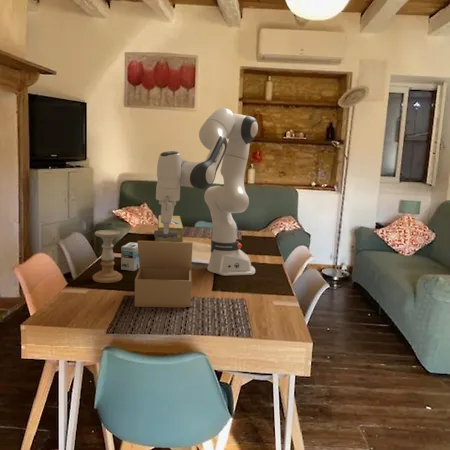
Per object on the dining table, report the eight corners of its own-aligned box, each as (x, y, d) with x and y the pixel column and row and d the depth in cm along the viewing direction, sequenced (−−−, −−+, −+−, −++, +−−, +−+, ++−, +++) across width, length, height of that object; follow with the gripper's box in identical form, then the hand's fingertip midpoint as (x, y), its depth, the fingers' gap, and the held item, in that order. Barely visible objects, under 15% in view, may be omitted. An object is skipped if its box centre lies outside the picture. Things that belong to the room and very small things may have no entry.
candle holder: (107, 285, 188) (107, 236, 184) (86, 279, 194) (85, 232, 190) (128, 278, 198) (129, 232, 194) (108, 272, 204) (108, 228, 201)
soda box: (182, 251, 250) (183, 227, 248) (157, 250, 248) (157, 227, 246) (179, 235, 289) (180, 215, 287) (157, 234, 287) (158, 214, 285)
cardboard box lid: (191, 269, 181) (191, 258, 185) (192, 241, 169) (192, 230, 173) (139, 267, 179) (140, 256, 183) (137, 239, 168) (138, 228, 171)
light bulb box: (134, 271, 209) (134, 248, 207) (120, 269, 210) (120, 246, 208) (143, 265, 219) (143, 243, 217) (129, 263, 220) (130, 241, 218)
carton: (190, 293, 183) (191, 269, 181) (190, 307, 168) (191, 281, 166) (139, 292, 181) (139, 267, 179) (134, 306, 166) (134, 279, 165)
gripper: (175, 198, 162) (174, 237, 164) (177, 193, 182) (175, 228, 184) (157, 197, 161) (156, 236, 163) (160, 192, 181) (159, 227, 183)
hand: (166, 232), depth 174 cm, fingers open, 5 cm apart
